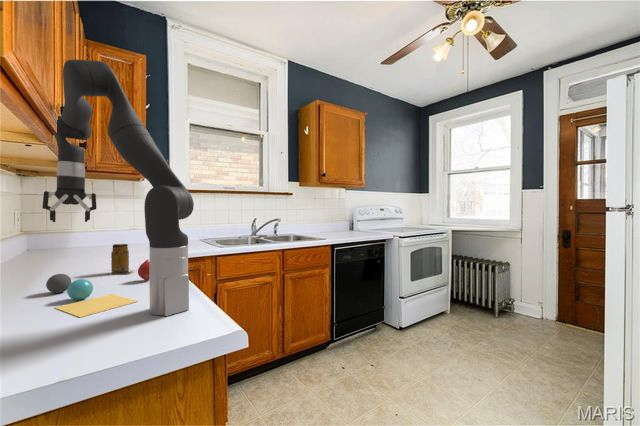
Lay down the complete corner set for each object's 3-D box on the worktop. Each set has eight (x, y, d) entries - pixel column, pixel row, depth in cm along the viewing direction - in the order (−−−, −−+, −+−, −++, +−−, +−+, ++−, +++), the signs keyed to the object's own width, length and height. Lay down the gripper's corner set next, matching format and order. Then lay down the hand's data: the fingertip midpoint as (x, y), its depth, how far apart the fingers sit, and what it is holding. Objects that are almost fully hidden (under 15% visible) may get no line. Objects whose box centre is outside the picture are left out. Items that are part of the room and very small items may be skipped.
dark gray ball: (73, 292, 93) (73, 273, 93) (48, 296, 89) (48, 277, 89) (68, 288, 97) (68, 271, 97) (44, 292, 92) (44, 274, 92)
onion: (134, 281, 107) (133, 260, 107) (147, 278, 112) (147, 257, 112) (146, 283, 105) (146, 261, 105) (159, 279, 111) (159, 258, 110)
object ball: (95, 298, 87) (95, 279, 87) (70, 304, 82) (69, 283, 82) (90, 295, 90) (89, 276, 90) (64, 299, 86) (64, 279, 86)
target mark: (137, 301, 84) (137, 301, 84) (80, 317, 72) (80, 316, 72) (111, 294, 91) (111, 294, 91) (54, 308, 79) (54, 307, 79)
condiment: (115, 271, 124) (115, 243, 124) (137, 270, 126) (137, 243, 126) (106, 275, 117) (106, 245, 117) (129, 274, 119) (129, 245, 118)
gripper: (96, 178, 109) (95, 221, 109) (43, 174, 99) (43, 221, 100) (97, 177, 103) (96, 222, 104) (42, 172, 94) (41, 222, 94)
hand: (70, 221), depth 102 cm, fingers open, 8 cm apart
